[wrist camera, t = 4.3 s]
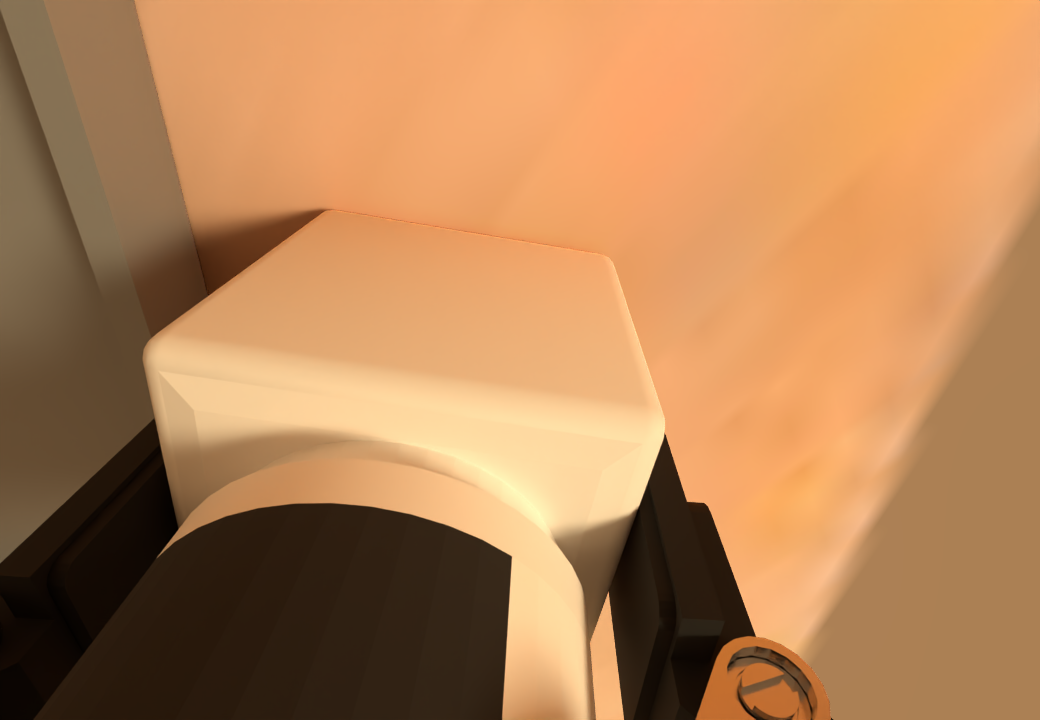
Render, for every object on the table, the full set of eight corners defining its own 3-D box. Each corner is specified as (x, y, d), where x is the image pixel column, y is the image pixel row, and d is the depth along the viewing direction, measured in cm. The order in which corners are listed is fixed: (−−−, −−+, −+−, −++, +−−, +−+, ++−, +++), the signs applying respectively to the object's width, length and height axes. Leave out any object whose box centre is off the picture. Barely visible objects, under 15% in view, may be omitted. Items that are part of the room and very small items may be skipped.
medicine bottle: (327, 438, 17) (-41, 1099, 6) (322, 202, 13) (-551, 805, 3) (559, 472, 17) (586, 1156, 6) (615, 251, 13) (870, 959, 3)
